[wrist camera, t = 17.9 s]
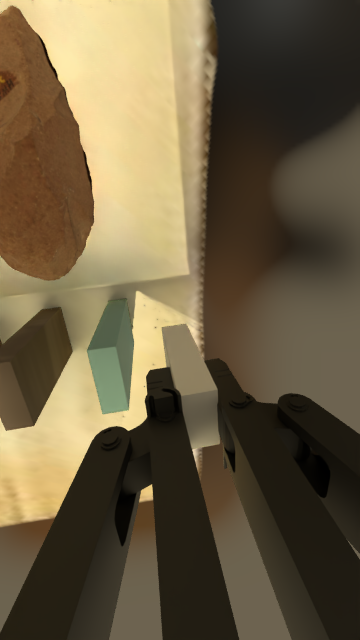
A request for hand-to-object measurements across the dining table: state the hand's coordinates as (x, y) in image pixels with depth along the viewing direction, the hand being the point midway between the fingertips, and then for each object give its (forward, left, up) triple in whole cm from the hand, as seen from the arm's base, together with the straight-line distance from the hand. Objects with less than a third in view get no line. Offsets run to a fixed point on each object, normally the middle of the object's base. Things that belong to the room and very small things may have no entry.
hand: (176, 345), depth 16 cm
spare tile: (+2, -4, -12) cm, 13 cm away
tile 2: (+2, -11, -12) cm, 16 cm away
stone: (-15, -13, -10) cm, 22 cm away
